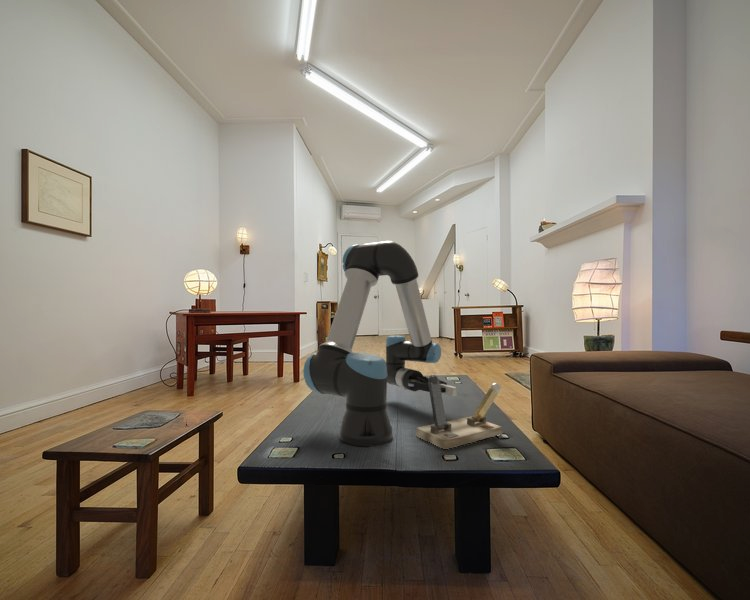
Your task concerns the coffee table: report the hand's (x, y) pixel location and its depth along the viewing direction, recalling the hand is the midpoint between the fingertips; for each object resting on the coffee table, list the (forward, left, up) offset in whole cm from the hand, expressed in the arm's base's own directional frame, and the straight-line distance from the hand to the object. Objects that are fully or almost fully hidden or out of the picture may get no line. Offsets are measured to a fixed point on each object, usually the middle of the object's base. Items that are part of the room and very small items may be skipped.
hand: (454, 391), depth 119 cm
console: (+7, -9, -10) cm, 15 cm away
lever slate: (+4, -16, -6) cm, 18 cm away
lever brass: (+9, -3, -6) cm, 11 cm away
